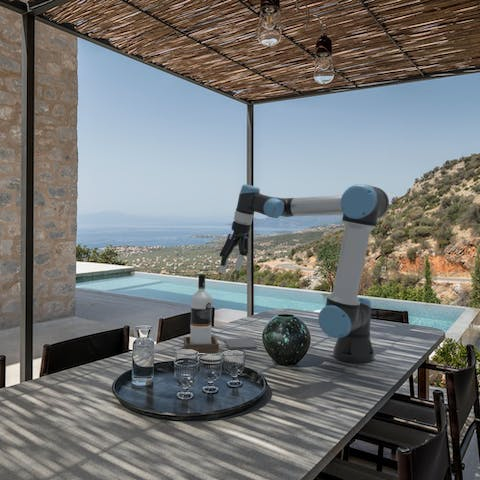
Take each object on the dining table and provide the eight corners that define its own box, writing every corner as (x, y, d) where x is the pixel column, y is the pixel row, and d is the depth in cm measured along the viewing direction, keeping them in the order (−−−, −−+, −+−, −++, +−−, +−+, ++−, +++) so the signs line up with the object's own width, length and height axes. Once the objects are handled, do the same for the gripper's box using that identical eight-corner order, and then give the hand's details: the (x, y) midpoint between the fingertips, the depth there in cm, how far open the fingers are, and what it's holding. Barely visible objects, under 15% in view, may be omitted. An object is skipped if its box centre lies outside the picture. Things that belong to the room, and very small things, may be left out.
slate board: (256, 349, 185) (256, 346, 185) (229, 349, 183) (229, 347, 183) (249, 340, 199) (249, 338, 199) (224, 341, 197) (224, 338, 197)
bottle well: (218, 354, 176) (218, 344, 176) (185, 355, 174) (185, 345, 174) (214, 346, 188) (214, 336, 188) (183, 346, 186) (183, 337, 186)
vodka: (202, 346, 188) (203, 272, 187) (217, 351, 181) (218, 274, 180) (183, 350, 181) (185, 273, 180) (198, 355, 175) (200, 276, 174)
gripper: (248, 219, 203) (236, 265, 206) (218, 220, 181) (206, 271, 185) (263, 224, 199) (251, 270, 203) (235, 225, 177) (222, 277, 181)
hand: (230, 271), depth 194 cm, fingers open, 13 cm apart
